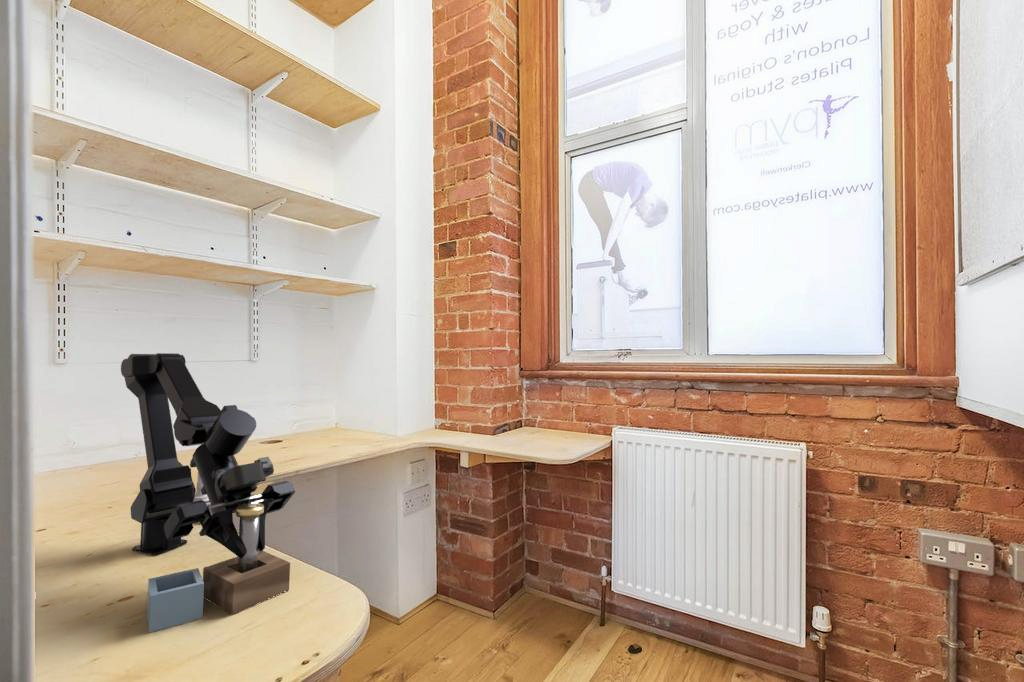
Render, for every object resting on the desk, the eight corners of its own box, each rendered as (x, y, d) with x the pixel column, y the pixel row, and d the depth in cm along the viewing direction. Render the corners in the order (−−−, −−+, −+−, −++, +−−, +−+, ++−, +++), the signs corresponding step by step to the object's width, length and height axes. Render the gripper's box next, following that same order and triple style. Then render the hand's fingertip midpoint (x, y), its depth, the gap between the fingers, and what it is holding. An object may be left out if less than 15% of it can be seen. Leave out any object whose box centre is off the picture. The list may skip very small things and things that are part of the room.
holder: (146, 613, 71) (148, 578, 71) (196, 600, 75) (198, 567, 75) (149, 633, 66) (150, 596, 66) (202, 618, 70) (204, 583, 70)
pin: (225, 597, 76) (229, 509, 76) (246, 585, 80) (250, 501, 80) (246, 601, 75) (250, 512, 75) (266, 589, 78) (269, 504, 79)
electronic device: (204, 483, 106) (186, 468, 116) (201, 528, 105) (184, 509, 116) (231, 479, 109) (211, 465, 120) (228, 522, 109) (209, 504, 120)
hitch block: (202, 596, 76) (203, 567, 76) (258, 575, 83) (259, 549, 83) (232, 614, 71) (233, 584, 71) (289, 590, 79) (290, 562, 79)
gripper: (176, 452, 72) (210, 544, 66) (291, 436, 88) (327, 509, 82) (150, 495, 76) (180, 586, 70) (264, 472, 92) (297, 544, 86)
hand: (253, 553), depth 77 cm, fingers closed on pin, 3 cm apart
